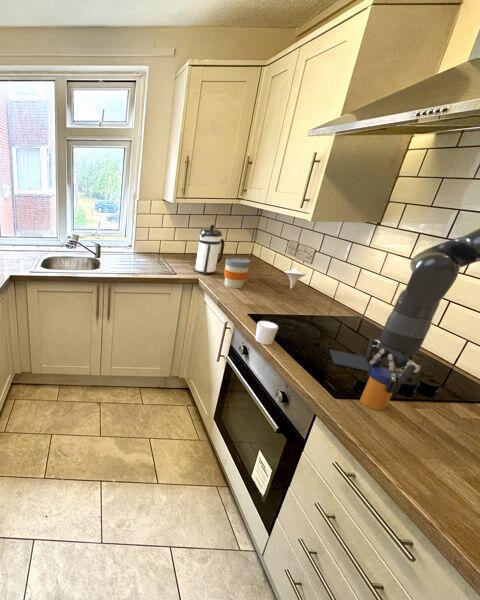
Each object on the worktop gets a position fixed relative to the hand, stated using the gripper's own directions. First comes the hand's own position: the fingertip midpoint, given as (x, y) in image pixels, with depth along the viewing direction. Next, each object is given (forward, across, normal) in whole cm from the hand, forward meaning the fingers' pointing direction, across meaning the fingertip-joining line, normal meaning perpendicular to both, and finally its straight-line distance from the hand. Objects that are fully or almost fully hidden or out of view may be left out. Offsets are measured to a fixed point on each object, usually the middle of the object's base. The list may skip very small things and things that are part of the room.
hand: (380, 384), depth 85 cm
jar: (+7, 0, 0) cm, 7 cm away
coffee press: (+7, -123, -12) cm, 124 cm away
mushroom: (+7, -95, +27) cm, 99 cm away
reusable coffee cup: (+7, -98, -3) cm, 98 cm away
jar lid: (-3, 0, 0) cm, 3 cm away
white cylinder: (+7, -34, -14) cm, 37 cm away
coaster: (+7, -22, +9) cm, 25 cm away
